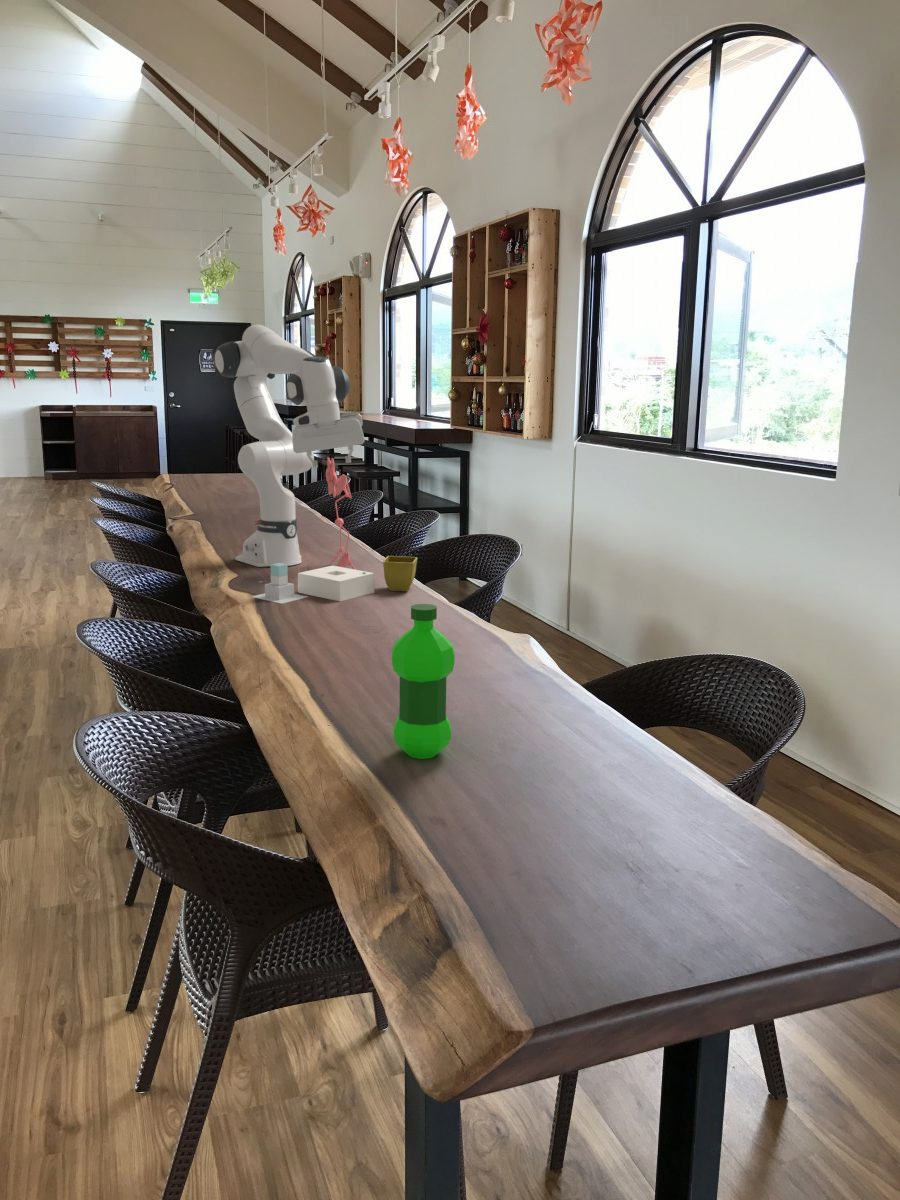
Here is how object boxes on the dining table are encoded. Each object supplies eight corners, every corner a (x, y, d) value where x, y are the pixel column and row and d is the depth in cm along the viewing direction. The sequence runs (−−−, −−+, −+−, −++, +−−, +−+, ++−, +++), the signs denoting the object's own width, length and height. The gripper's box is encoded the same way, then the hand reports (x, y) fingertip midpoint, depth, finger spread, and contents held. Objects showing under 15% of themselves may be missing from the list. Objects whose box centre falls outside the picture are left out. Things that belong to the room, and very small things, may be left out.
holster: (250, 598, 261) (250, 584, 260) (277, 592, 269) (277, 578, 268) (281, 605, 254) (281, 590, 253) (308, 598, 262) (308, 584, 261)
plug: (271, 596, 261) (270, 564, 259) (279, 594, 264) (279, 562, 262) (279, 598, 259) (278, 566, 257) (288, 596, 262) (287, 564, 260)
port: (298, 594, 267) (297, 571, 266) (332, 585, 278) (332, 564, 277) (340, 603, 258) (340, 579, 256) (374, 594, 269) (374, 571, 267)
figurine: (347, 559, 316) (344, 452, 307) (362, 575, 292) (359, 460, 283) (301, 562, 312) (296, 454, 303) (312, 579, 288) (307, 462, 279)
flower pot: (417, 587, 279) (417, 556, 276) (413, 593, 270) (413, 562, 268) (387, 585, 279) (387, 555, 277) (382, 592, 271) (382, 561, 269)
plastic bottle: (451, 740, 164) (453, 599, 158) (453, 765, 154) (456, 615, 148) (392, 740, 164) (393, 598, 158) (391, 765, 154) (391, 614, 148)
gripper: (360, 410, 271) (367, 459, 275) (288, 420, 269) (296, 469, 272) (362, 410, 265) (369, 460, 269) (288, 420, 263) (296, 471, 266)
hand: (332, 465), depth 270 cm, fingers open, 8 cm apart
